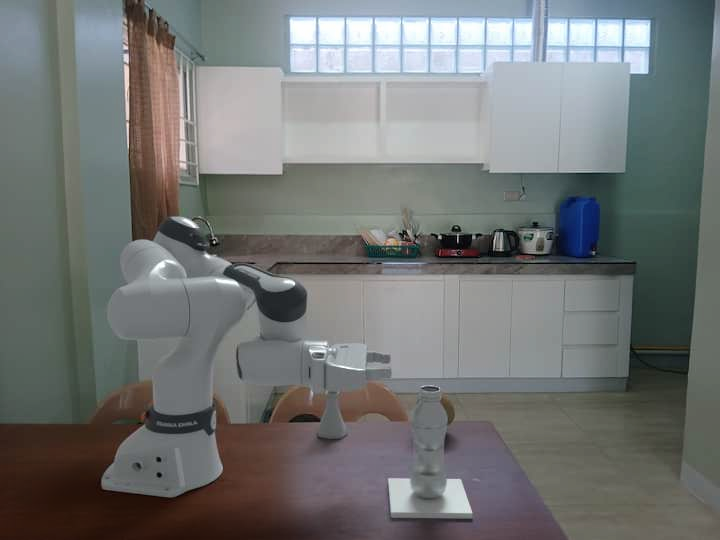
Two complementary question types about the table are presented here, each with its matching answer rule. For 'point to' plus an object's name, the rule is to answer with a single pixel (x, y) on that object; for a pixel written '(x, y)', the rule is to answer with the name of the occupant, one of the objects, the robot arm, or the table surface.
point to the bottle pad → (428, 501)
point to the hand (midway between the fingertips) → (390, 365)
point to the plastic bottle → (428, 444)
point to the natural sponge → (446, 407)
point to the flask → (332, 419)
